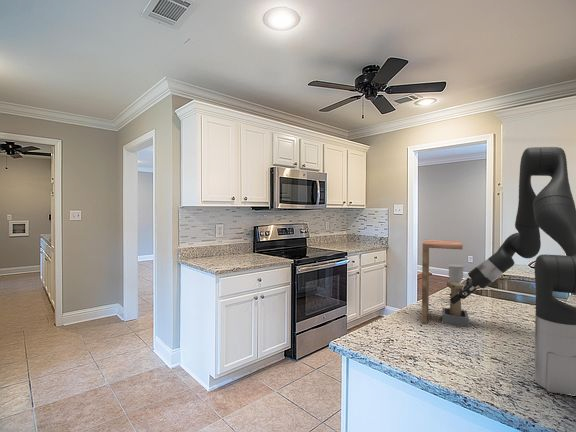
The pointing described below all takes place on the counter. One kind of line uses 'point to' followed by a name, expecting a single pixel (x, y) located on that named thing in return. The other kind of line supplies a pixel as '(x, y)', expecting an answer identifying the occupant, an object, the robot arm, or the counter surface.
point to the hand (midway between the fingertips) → (451, 299)
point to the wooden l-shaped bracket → (425, 269)
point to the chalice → (456, 273)
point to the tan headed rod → (455, 288)
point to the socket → (455, 318)
